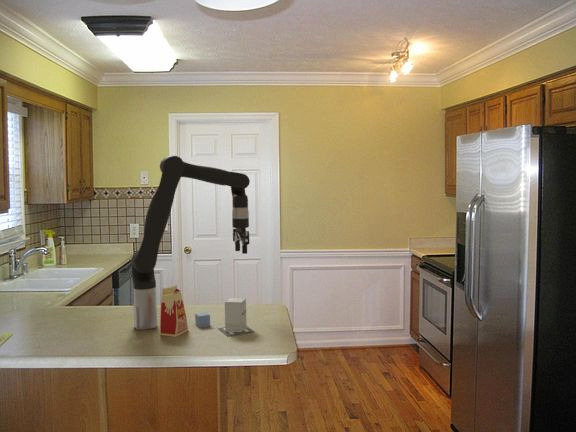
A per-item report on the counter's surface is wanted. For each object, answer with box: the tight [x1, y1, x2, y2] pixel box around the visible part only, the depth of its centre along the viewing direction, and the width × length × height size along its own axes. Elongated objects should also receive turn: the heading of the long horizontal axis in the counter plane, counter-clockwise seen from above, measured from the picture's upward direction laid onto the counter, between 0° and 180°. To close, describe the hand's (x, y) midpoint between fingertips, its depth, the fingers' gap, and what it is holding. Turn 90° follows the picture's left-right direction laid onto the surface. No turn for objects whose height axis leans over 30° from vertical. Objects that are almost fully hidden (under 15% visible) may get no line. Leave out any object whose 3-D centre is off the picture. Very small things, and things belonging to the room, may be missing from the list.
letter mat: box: [217, 325, 256, 337], centre depth 217 cm, size 12×12×1 cm
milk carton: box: [159, 285, 189, 338], centre depth 214 cm, size 9×9×20 cm
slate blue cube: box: [194, 311, 211, 328], centre depth 225 cm, size 5×5×5 cm
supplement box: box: [224, 297, 247, 332], centre depth 216 cm, size 7×7×13 cm
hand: (241, 252), depth 240 cm, fingers open, 8 cm apart
